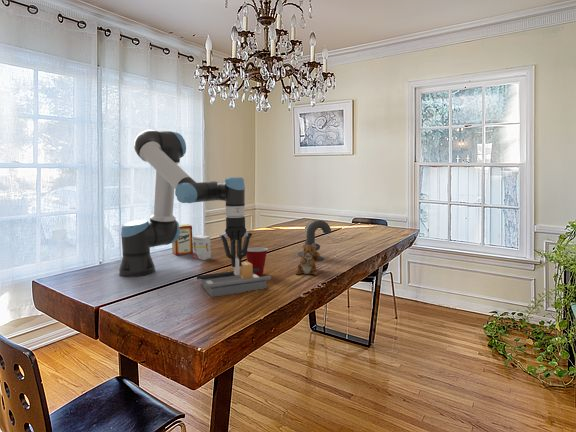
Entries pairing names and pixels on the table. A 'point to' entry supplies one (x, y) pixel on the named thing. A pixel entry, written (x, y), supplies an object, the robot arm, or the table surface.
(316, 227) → the faucet
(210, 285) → the grey tray
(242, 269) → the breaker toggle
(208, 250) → the ink box
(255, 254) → the plastic cup
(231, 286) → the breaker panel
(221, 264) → the table surface
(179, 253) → the orange cardboard box
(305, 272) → the stuffed squirrel
